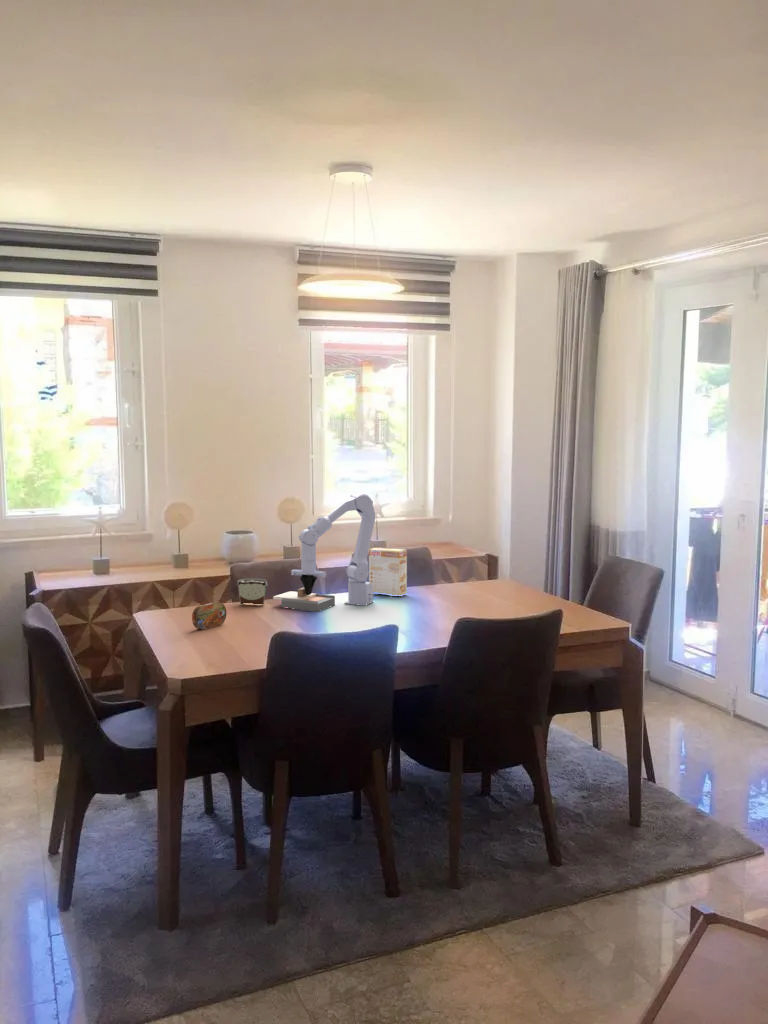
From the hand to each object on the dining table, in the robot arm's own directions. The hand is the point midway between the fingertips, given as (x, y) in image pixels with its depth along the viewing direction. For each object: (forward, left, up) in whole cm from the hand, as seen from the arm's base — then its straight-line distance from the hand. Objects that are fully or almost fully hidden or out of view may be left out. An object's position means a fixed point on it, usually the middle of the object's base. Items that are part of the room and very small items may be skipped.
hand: (308, 594), depth 339 cm
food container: (+22, +5, -5) cm, 23 cm away
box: (0, 0, -5) cm, 5 cm away
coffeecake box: (-17, -38, -5) cm, 42 cm away
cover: (+6, 0, -2) cm, 7 cm away
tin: (+13, +47, -5) cm, 49 cm away
